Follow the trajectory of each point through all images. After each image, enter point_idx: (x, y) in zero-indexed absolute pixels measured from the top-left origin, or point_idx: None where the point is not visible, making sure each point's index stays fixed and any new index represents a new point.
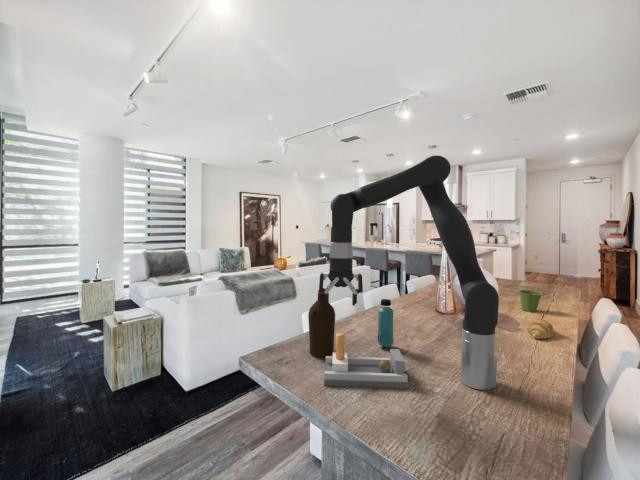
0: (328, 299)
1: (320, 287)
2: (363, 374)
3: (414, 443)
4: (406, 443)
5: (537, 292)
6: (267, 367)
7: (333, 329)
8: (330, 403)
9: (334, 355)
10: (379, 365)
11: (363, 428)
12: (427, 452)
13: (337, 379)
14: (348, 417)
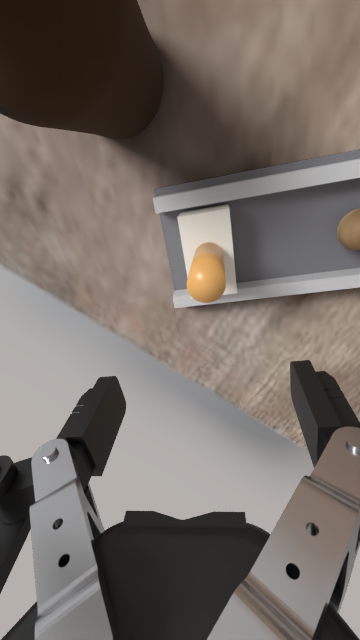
0: (113, 439)
1: (4, 541)
2: (280, 295)
3: None
4: None
5: None
6: (11, 247)
7: (141, 59)
8: (204, 357)
9: (187, 241)
10: (340, 238)
11: (266, 404)
12: None
13: None
14: (241, 386)
